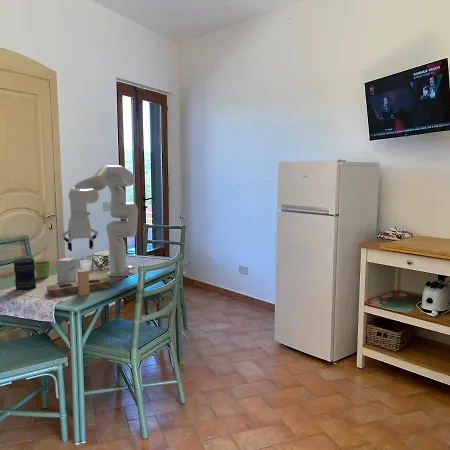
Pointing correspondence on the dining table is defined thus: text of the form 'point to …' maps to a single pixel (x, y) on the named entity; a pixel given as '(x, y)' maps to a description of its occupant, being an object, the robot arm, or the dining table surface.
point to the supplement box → (66, 270)
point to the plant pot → (42, 269)
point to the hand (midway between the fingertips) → (80, 249)
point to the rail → (73, 287)
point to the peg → (83, 282)
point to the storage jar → (25, 274)
